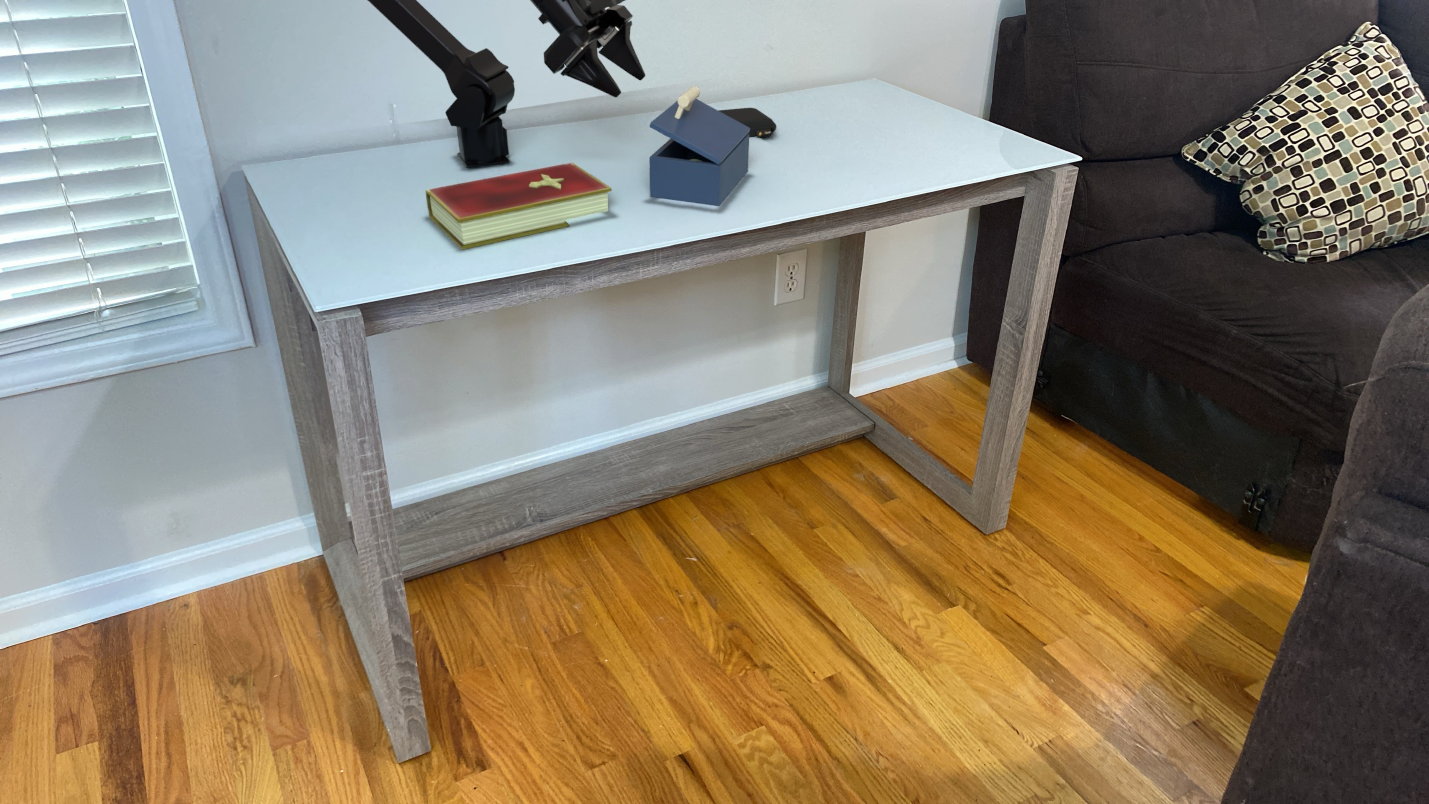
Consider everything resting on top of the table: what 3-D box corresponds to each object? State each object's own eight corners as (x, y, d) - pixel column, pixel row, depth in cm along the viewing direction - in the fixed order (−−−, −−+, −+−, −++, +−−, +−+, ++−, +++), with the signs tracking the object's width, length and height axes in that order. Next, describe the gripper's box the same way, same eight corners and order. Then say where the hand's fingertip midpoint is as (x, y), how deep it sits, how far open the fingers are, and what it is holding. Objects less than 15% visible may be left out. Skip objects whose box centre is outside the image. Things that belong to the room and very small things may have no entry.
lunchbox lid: (649, 127, 128) (659, 98, 125) (684, 98, 140) (695, 71, 137) (719, 165, 128) (731, 137, 125) (748, 133, 139) (760, 107, 137)
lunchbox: (650, 202, 134) (649, 157, 130) (683, 168, 145) (684, 126, 142) (718, 211, 131) (720, 165, 128) (747, 176, 143) (749, 133, 139)
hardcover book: (429, 217, 127) (424, 186, 125) (572, 188, 137) (570, 159, 135) (462, 249, 119) (457, 217, 117) (612, 216, 129) (611, 186, 127)
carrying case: (699, 150, 152) (783, 140, 157) (699, 130, 151) (784, 122, 156) (675, 130, 161) (756, 121, 165) (675, 111, 159) (757, 104, 164)
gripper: (559, -38, 118) (645, 64, 121) (617, -58, 133) (692, 33, 136) (507, 24, 124) (590, 119, 128) (568, -2, 139) (640, 83, 143)
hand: (631, 86), depth 133 cm, fingers open, 9 cm apart
